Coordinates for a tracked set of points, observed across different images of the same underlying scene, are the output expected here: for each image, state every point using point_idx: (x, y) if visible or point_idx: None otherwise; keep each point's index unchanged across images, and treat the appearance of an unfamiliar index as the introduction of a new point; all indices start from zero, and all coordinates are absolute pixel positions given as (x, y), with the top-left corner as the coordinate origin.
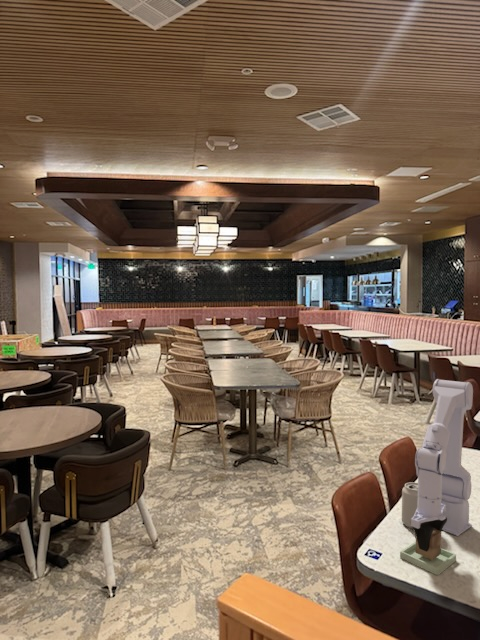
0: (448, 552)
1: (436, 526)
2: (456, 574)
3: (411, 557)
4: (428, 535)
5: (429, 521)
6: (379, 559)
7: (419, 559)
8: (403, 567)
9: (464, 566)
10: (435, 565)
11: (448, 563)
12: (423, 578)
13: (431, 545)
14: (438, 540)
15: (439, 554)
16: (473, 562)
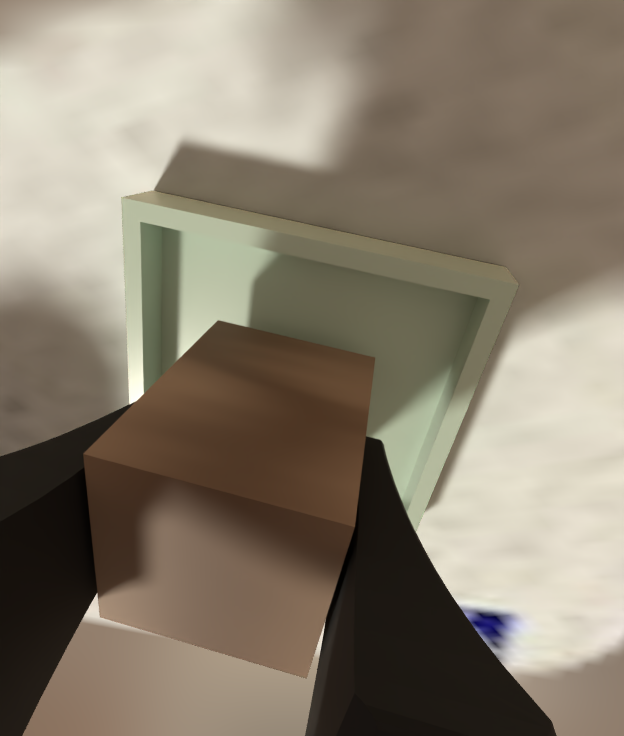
0: (142, 269)
1: (54, 544)
2: (382, 119)
3: (430, 489)
4: (471, 624)
5: (41, 644)
6: (504, 606)
7: (435, 442)
8: (524, 490)
9: (187, 93)
10: (374, 315)
11: (289, 227)
12: (621, 350)
13: (362, 449)
14: (213, 411)
15: (239, 327)
16: (53, 36)
